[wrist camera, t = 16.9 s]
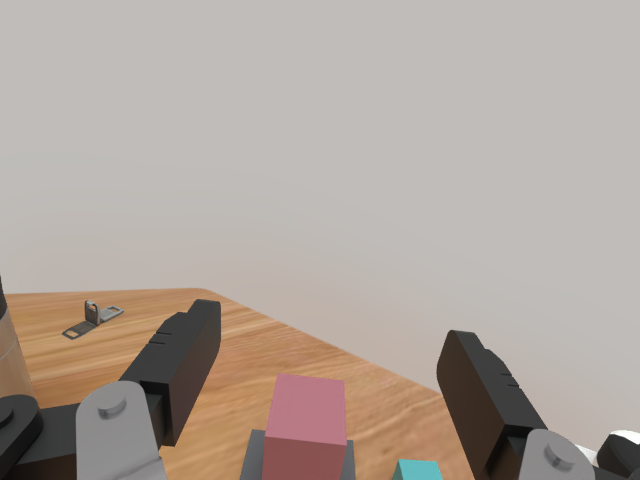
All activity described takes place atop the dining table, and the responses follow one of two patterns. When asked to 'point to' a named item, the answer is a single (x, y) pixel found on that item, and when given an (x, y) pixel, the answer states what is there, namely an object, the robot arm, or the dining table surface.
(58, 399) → the dining table surface
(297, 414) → the tall pink pillar
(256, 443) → the mat
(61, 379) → the dining table surface
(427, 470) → the block
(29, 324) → the dining table surface
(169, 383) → the robot arm
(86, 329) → the strap clip
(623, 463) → the medicine bottle
